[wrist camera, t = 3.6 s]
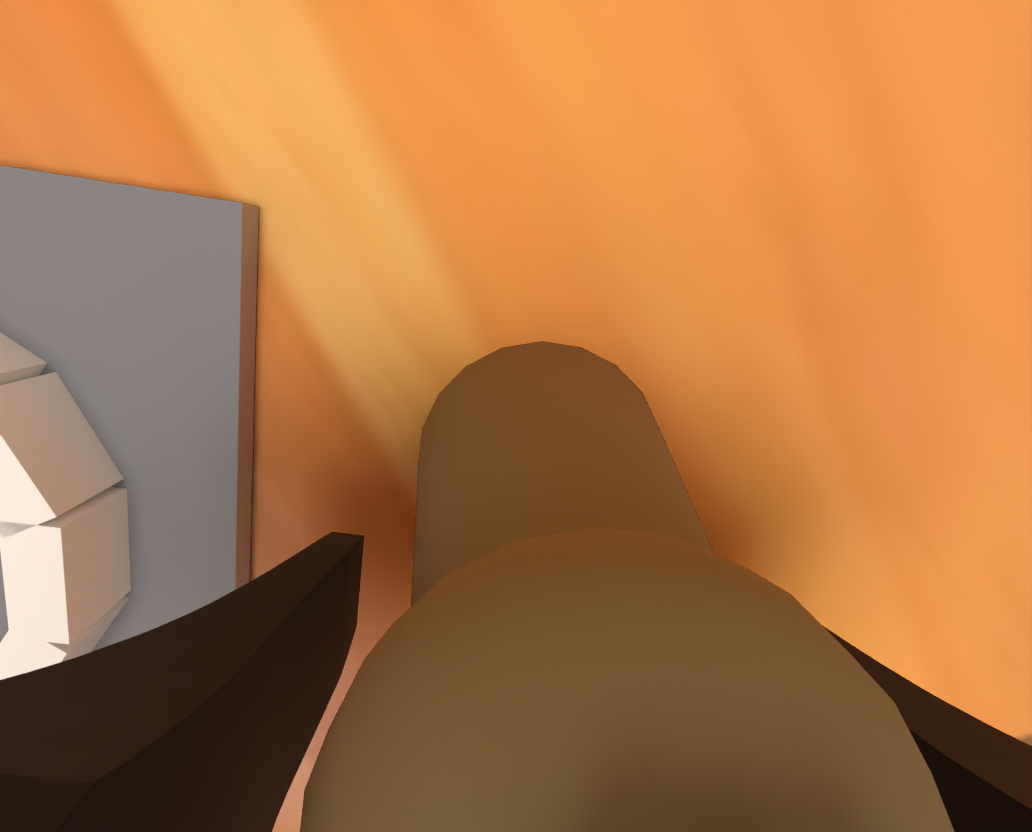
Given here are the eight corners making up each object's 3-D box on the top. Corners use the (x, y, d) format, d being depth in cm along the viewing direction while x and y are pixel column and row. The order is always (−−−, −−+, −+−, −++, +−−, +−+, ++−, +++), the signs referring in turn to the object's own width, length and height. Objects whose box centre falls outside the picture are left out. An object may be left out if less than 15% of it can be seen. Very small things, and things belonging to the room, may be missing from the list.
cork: (612, 596, 15) (881, 1426, 4) (391, 535, 14) (66, 1330, 4) (698, 385, 13) (1447, 853, 3) (457, 307, 13) (230, 529, 2)
